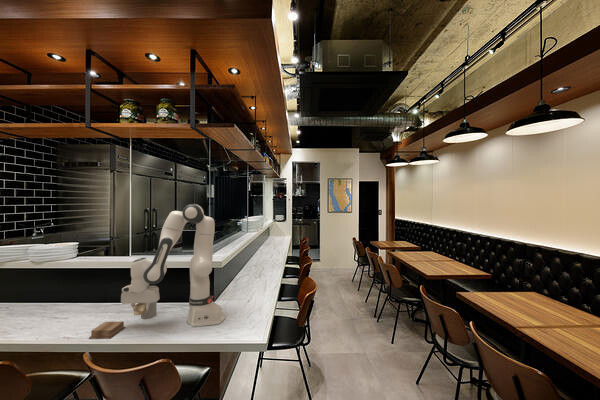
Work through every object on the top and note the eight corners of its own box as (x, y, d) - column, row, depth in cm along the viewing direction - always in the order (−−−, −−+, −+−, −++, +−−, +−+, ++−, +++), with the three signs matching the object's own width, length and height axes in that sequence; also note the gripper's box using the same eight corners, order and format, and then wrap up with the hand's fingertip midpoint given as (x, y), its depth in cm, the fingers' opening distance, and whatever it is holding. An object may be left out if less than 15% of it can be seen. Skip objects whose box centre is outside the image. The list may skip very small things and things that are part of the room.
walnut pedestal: (125, 328, 139) (125, 320, 139) (111, 338, 128) (111, 330, 128) (105, 328, 138) (105, 321, 139) (88, 338, 127) (89, 331, 127)
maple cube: (148, 310, 144) (147, 302, 144) (142, 314, 139) (142, 305, 139) (139, 311, 144) (139, 302, 144) (133, 315, 139) (133, 306, 139)
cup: (138, 319, 149) (139, 303, 150) (143, 314, 157) (143, 298, 158) (154, 318, 152) (154, 301, 152) (158, 312, 160) (158, 297, 160)
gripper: (161, 283, 145) (162, 306, 145) (126, 285, 144) (126, 308, 144) (155, 287, 139) (156, 311, 139) (118, 289, 138) (119, 313, 138)
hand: (140, 310), depth 141 cm, fingers closed on maple cube, 5 cm apart
